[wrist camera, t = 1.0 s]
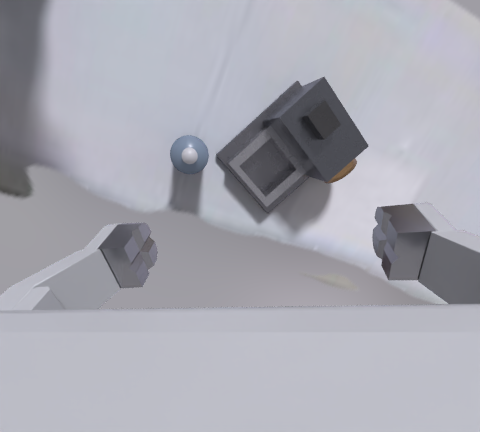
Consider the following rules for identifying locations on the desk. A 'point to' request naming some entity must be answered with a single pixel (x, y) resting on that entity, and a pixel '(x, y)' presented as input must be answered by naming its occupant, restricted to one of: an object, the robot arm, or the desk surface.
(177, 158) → the bottle
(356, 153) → the gray recessed holder
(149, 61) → the desk surface
